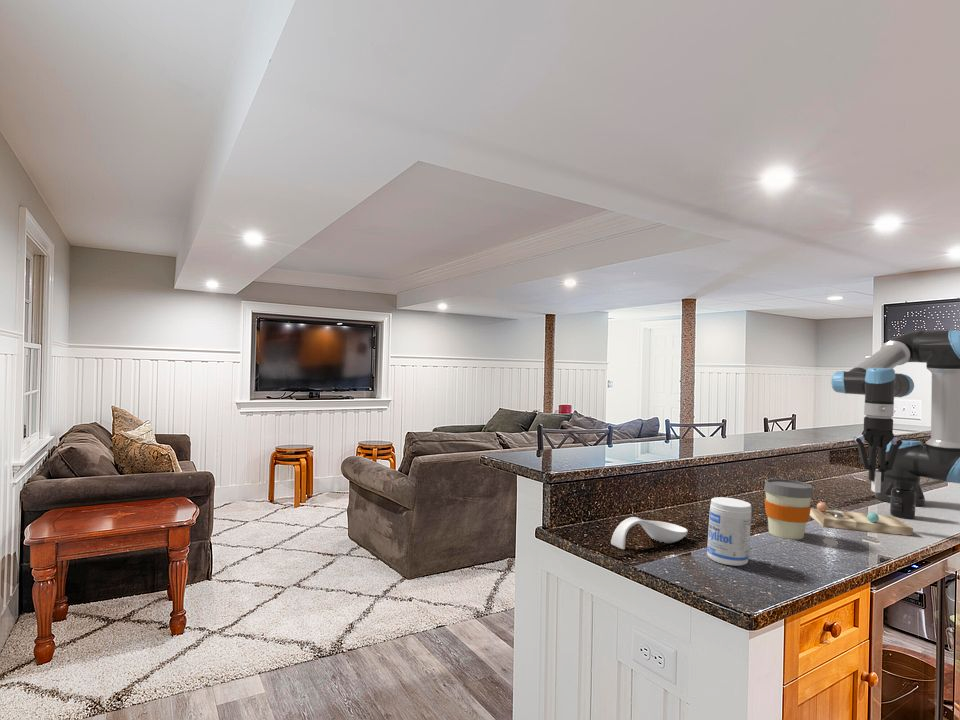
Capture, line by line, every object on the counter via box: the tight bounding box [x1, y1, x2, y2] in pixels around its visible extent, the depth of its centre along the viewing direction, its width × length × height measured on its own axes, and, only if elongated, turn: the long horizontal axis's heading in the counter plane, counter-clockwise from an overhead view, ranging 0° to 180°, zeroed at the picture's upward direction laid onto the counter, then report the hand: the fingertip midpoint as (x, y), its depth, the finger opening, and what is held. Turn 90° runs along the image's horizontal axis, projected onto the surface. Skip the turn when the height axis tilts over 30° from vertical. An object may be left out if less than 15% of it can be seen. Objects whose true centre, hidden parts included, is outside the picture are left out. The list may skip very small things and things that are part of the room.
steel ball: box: [833, 513, 844, 517], centre depth 179 cm, size 3×3×3 cm
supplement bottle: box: [889, 480, 917, 520], centre depth 192 cm, size 7×7×12 cm
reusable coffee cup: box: [763, 478, 814, 540], centre depth 165 cm, size 13×13×15 cm
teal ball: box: [867, 511, 879, 523], centre depth 173 cm, size 3×3×3 cm
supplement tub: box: [706, 496, 753, 567], centre depth 141 cm, size 10×10×15 cm
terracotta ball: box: [816, 501, 828, 512], centre depth 184 cm, size 3×3×3 cm
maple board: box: [809, 507, 914, 536], centre depth 178 cm, size 24×13×2 cm, turn 76°
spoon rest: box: [610, 516, 689, 550], centre depth 153 cm, size 24×12×7 cm, turn 121°
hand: (875, 491), depth 177 cm, fingers closed
